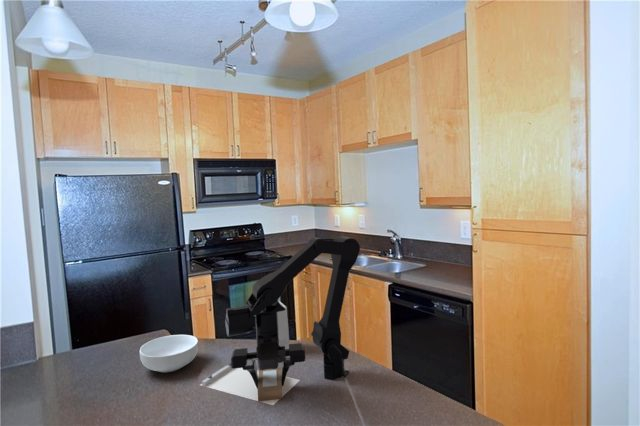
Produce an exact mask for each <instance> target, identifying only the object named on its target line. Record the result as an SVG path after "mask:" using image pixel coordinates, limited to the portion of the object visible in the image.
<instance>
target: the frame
mask: <svg viewBox="0 0 640 426" xmlns="http://www.w3.org/2000/svg"><path fill="white" fill-rule="evenodd" d="M258 371H259V375H258V401H257V402H259V401H268V400H277V399H279V400H283V397H282V380H281V375H282V367H278V368H276V369H265V370H260V369H258Z"/></svg>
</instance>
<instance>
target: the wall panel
mask: <svg viewBox="0 0 640 426" xmlns="http://www.w3.org/2000/svg"><path fill="white" fill-rule="evenodd" d="M257 374H258V375H259V369H257ZM207 375H208V374H207ZM300 381H301V380H300V379H297V378H293V377H288V376H286V378H285V382H284V385H283V386H282V398H283V397H284V396H285V395H286V394H287V393H288V392H289V391H290V390H291V389H293V387H294V386H296V385H297V384H298V383H299V382H300ZM200 386H202V387H204V388H205V387H206V388H208V389H213V390H217V391H220V392H223V393H227V394H231V395H234V396H238V397H242V398H246V399H249V400H252V401H255V402H256V401H257V402H258V389H257V387H256V385H255V383H254V380H253V378H252V376H251V374H250V373H249V372H248V371H247V370H243V368H235V369H233V368H231V362H228V363H227V365H225V366H223V367H222V368H221V369H219V370H217V371H215V372H214V373H212V374H209V375H208V376H207V377H206V378H205V379H203V380H202V381H201V384H200ZM279 400H280V399H277V400H268V401H259V402H260V403H264V404H267V405H272V406H274V405H276V403H277V402H279Z"/></svg>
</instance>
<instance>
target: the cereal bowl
mask: <svg viewBox="0 0 640 426" xmlns="http://www.w3.org/2000/svg"><path fill="white" fill-rule="evenodd" d="M198 351H199V341H198V338H197V337H196V336H194V335H190V334H172V335H165V336H161V337H157V338H154V339H151V340H150V341H147V342H145V343H144V344H143V345H141V346H140V349H139V359H140V362H141V364H142V365H143V366H144V367H145V368H146V369H148V370H151V371H155V372H158V373H159V372H160V373H163V374H164V373H171V372H176V371H177V370H178V371H179V370H180V369H181V368H184V367H185V366H186V365H189V363H191V362H192V361H193V360H194V359H195V358H196V356H197V354H198Z"/></svg>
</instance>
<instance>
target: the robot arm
mask: <svg viewBox="0 0 640 426" xmlns="http://www.w3.org/2000/svg"><path fill="white" fill-rule="evenodd" d="M360 245H361V244H360V243H359V242H358V240H356V239H354V238H352V237H348V236H343V235H341V236H337V237H336V238H321V237H316V236H315V237H311V239H309V241H308V242H307V243H306V244H305V245H304V246H302V248H300V249H299V250H298V251H297V252H296V253H295V254H294V255H293V256H292V257H291V258H289V259H288V260H287V261H286V262H285V263H283V264H282V265H281V266H280V267H279V268H278V269H276V270H275V271H273V272H270V273H269V274H268V273H267V274H266V275H264V276H263V277H261V278H260V279H258V280H256V281H255V283H254V284H253V286H252V291H251V293H250V296H249V297H248V298H247V300H246V302H245V303H244V305H245V306H238V307H227V308H226V309H225V312H226V314H225V319H224V323H225V325H224V326H225V331H226V335H227V337H233V336H239V335H245V334H249V333H251V332H253V331H254V328H255V332H256V333H255V335H256V336H255V337H256V347H255V348H256V349H255V352H249V349H248V347H245V348H235V349H234V350H233V351H232V353H231V358H230V363H231V368H233V369H235V368H243V370H247V371H248V372H249V373H250V374H251V376H252V378H253V380H254V383H255V385H256V387H257V389H258V374H257V370H265V369H276V368H279V364H280V363H282V364H281V365H282V366H281V380H282V386H283V385H284V382H285V378H286V377H287V375H288V374H287V373H288V372H289V369H290V367H291V366H295V364H296V363H304V362H305V361H306V352H305V346H304V344H303V343H302V342H300V343H299V342H297V343H289V349H285V346H279V333H278V314H277V312H279V311H284V310H285V308H284V307H283V306H282V305H281V304H280V303H279V299H280V298H281V297H282V295H283V294H284V292H285V291H286V288H287V287H288V285H289V284H290V283H291V281H293V280H294V279H295V278H296V277H297V276H298V275H299V274H300V273H301V272H302V271H303V270H305V269H306V268H307V267H308V266H309V265H311V263H312V262H314V261H315V260H316V259H317V258H318V257H319V256H320V255H321V254H329V255H330V257H331V262H332V263H331V264H332V271H331V275H330V279H329V286H328V290H327V295H326V299H325V304H324V305H325V306H324V309H323V313H322V316H321V318H320V320H319V321H316V320H314V322H313V328H312V329H313V330H312V331H311V333H310V336H312V342H313V343H314V345H315V346H316V347H317V348H318V349H319V350H320V351H321V353H322V354H323V377H324V380H329V381H334V380H336V379H340V378H343V379H346V377H347V376H348V375H349V374H350V371H349V370H346V369H345V360H347V359H348V358H349V354H350V350H349V349H347V348H346V347H345V346H343V345H342V331H341V326H340V325H341V323H340V319H341V313H342V310H343V304H344V300H345V294H346V290H347V285H348V280H349V276H350V271H351V269H352V268H353V267H354V265H355V264H356V262H357V260H358V257H359V255H360V253H361V246H360ZM256 361H257V362H256ZM257 365H258V366H257ZM257 367H258V368H257Z"/></svg>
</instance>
